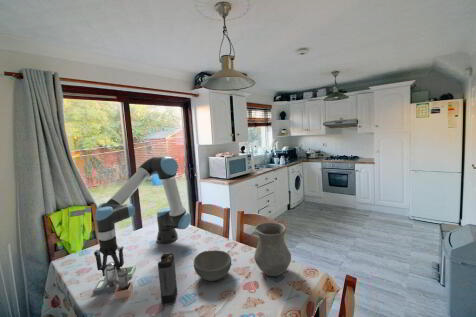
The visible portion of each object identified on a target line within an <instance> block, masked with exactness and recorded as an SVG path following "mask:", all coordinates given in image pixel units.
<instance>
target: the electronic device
mask: <svg viewBox="0 0 476 317" xmlns="http://www.w3.org/2000/svg"><path fill="white" fill-rule="evenodd" d="M174 255H175V254H174V253H170V252H169V253H164V254H162V255H161V257H160V261H159V262H158V263H157V267H158V268H157V269H158V270H157V271H158V278H159V288H160V289H159V290H160V300H161V304H162V305H163V306H169V305H173V304H174V303H175V302H176V298H177V295H178V285H177V274H176V263H175V262H176V261H175V256H174Z"/></svg>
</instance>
